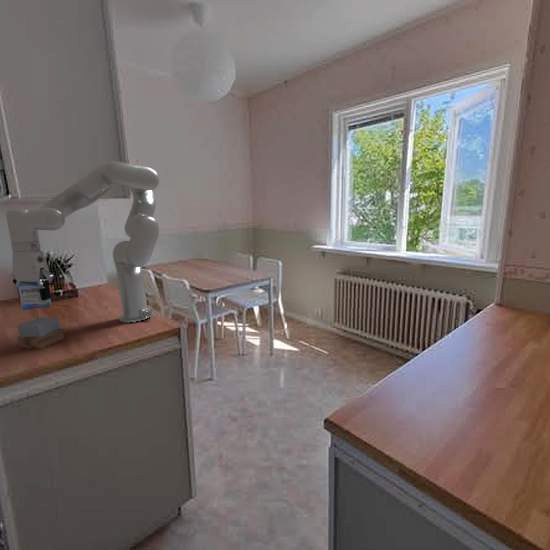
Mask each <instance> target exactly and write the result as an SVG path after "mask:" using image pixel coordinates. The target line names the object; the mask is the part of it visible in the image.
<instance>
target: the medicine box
mask: <svg viewBox="0 0 550 550" xmlns="http://www.w3.org/2000/svg"><path fill="white" fill-rule="evenodd" d="M42 283H44V282H42ZM18 289H19V295H20V299H19V300H20V305H21V310H23V311H28V310H33V309H41V308H45V307H46V308H48V307H51V305H52V300H51V299H52V298H50V299H47V300H44V301H42V300H41V296H40V290H39V289H41V287H40V286H39V285H38V284H37V282H23V283H19V284H18ZM18 289H17V290H18ZM19 295H18V296H19Z"/></svg>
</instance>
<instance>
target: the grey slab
mask: <svg viewBox="0 0 550 550" xmlns="http://www.w3.org/2000/svg"><path fill="white" fill-rule="evenodd" d="M59 324H60V323H59V319H58V317H42V316H41V317H40V316H39V317H35V318H33V319H30V320H27V321H25V322H23V323H21V324H18V325H17V329H18V334H19V336H20V337H40V338H41V337H43V336H45V335H47V334H49V333H51V332H53V331H56V330H58V329H60V325H59Z"/></svg>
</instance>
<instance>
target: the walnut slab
mask: <svg viewBox="0 0 550 550" xmlns="http://www.w3.org/2000/svg"><path fill="white" fill-rule="evenodd" d="M17 340H18V344H19V348H22V347H26V348H25V349H34V348H37V349H36V350H42V348H43V349H45V348H47V347H49V346H52V345H54V344H55V343H57V342H60V341H61V340H65V337H64V331H63V328H59V329H58V330H56V331H53V332H51V333H49V334H47V335H45V336H43V337H41V338H40V337H20V335H19V336H17ZM46 346H47V347H46ZM44 347H45V348H44Z"/></svg>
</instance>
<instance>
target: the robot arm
mask: <svg viewBox="0 0 550 550" xmlns="http://www.w3.org/2000/svg"><path fill="white" fill-rule="evenodd" d="M159 184H160V176H159V174H158V173H157V170H155V169H153V168H151V167H148V166H144V165H138V164H134V163H130V162H124V161H119V160H118V161H117V160H112V161H108V162H105V163H102V164H100V165H98V166H97V167H96V168H94V169H93V170H91V172H89V173H88V174H86V175H85V176H83V177H82V178H80V179H79V180H78V181H76V182H74V183H73V184H71V185H70V186H68V187H67V188H66V189H65V190H63V191H62V192H60V193H59V194H57V195H56V196H54V197H53V198H51V199H49V200H48V201H47V202H45V203H44V204H42V205H41V206H39V207H38V208H37V209H30V208H14V209H13V208H11V209H8V210H6V212H5V218H6V222H7V228H8V234H9V239H10V246H11V250H12V255H11V256H12V257H11V258H12V268H13V269H12V270H13V271H12V272H11V273H10V274H9V276H10V278H11V280H12V283H13V284H14V285H15V288H16V289H17V294H18V299H19V300H20V295H19V289H18V284H19V283H23V282H37V284H38V285H39V286H40V287H41V289H39V290H40V296H41V300H42V301H44V300H47V299H52V295H51V289H50V287H52V286H51V284H52V283H53V279H54V275H53V273H51V272H50V271H49V270H50V269H49V266H48V262H47V259H46V256H45V253H44V251H43V250H42V249H41V243H40V238H39V232H38V231H51V232H52V231H58V230H59V229H61V228H62V227H63V226H64V225H65V221H66V218H67V217H68V216H70V215H72V214H74V213H75V212H77V211H79V210H81V209H85V208H87V207H89V206H92V205H93V204H94V203H95V202H97V201H98V200H100V199H101V198H102V197H103V196H104V195H106V194H107V193H109V192H110V191H111V190H113V189H114V188H115V187H118V186H120V187H127V188H129V190H130V191H131V193H132V197H133V200H132V201H133V202H132V205H131V209H130V210H129V212H128V213H129V214H128V215H127V216H128V217H127V219H126V221H125V223H124V232H125V234H126V235H127V236H128V237H129V238H130V239H129V240H123V241H122V240H121V241H120V242H117V243H116V244H115V246H114V247H113V250H112V258H113V262H114V266H115V270H116V275H117V283H118V290H119V297H120V305H121V313H122V314H121V315H120V316H119V317H118V321H119V322H121V323H124V324H127V323H129V324H131V323H130V322H133V323H137V322H136V321H139V322H142V321H141V320H144V321H146V320H145V319H147V318H149V317H150V318H151V316H152V317H153V316H154V315H155V313H156V310H155V309H150V305H147V304H148V303H147V297H146V296H147V295H146V294H147V293H146V288H145V278H144V270H143V267H144V266H145V265H146V264H148V262H150V259H151V258H152V255H153V252H154V249H155V246H156V243H157V240H158V237H159V234H160V226H159V222H158V220H156V218H155V217H154V214H155V211H156V205H157V201H156V196H155V194H154V193H155V192H154V191H153V190H155V189H156V188H157V187H158V186H159ZM42 282H44V283H42ZM150 318H149V319H150ZM147 320H148V319H147Z"/></svg>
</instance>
